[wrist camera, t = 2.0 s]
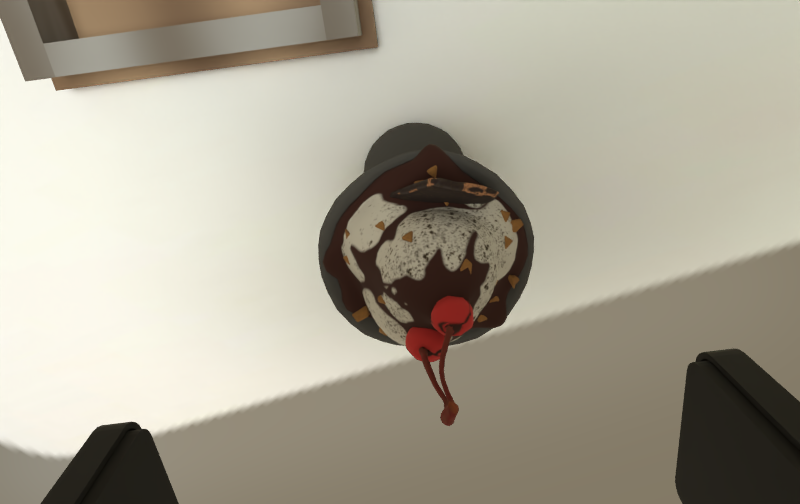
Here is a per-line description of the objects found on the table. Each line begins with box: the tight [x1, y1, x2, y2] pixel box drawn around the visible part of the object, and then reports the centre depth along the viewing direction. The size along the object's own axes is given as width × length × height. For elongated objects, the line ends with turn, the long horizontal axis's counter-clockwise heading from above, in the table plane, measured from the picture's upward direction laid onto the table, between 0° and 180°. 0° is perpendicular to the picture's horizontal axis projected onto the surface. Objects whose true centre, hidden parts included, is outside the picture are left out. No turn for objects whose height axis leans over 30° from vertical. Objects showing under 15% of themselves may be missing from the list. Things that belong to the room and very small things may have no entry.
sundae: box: [318, 123, 534, 426], centre depth 18 cm, size 7×7×15 cm
